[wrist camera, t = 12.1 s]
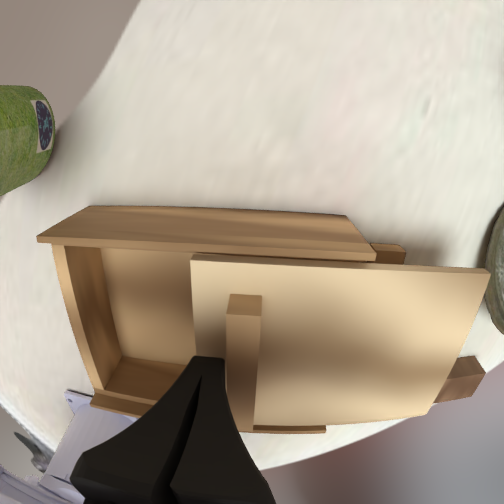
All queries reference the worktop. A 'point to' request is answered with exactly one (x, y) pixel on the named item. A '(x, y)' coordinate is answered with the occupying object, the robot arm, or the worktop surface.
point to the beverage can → (23, 135)
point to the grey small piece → (496, 273)
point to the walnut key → (461, 380)
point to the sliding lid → (331, 335)
